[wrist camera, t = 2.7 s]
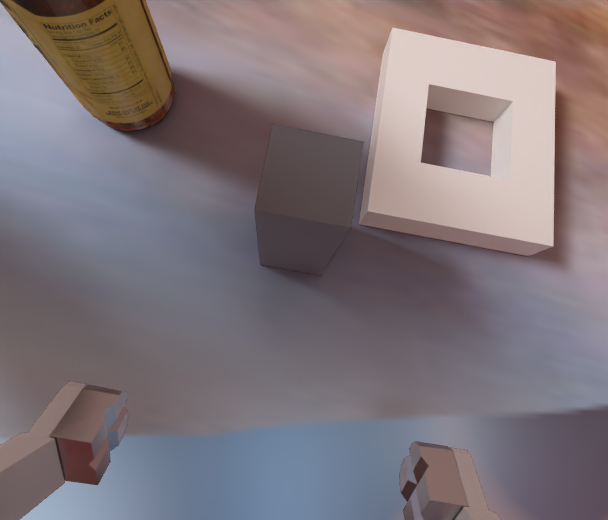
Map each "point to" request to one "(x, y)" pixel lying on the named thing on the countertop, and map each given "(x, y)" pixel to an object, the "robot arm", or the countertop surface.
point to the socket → (455, 183)
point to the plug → (305, 198)
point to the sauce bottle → (102, 56)
